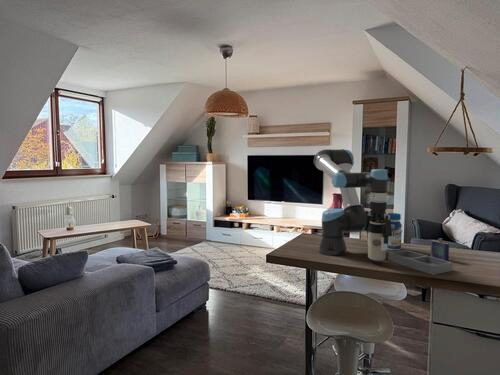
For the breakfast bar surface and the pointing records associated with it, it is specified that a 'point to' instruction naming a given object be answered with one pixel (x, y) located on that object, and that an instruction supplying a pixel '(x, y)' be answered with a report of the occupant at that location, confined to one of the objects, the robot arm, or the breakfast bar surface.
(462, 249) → the breakfast bar surface
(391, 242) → the beverage bottle
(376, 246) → the travel mug
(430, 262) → the grey divided tray
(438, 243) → the flask
